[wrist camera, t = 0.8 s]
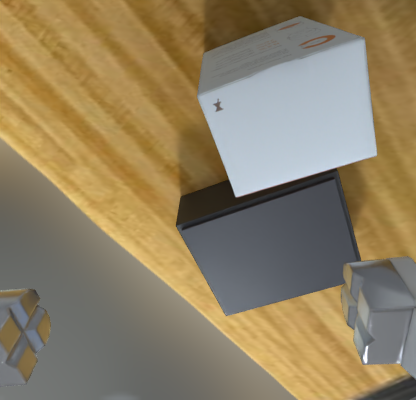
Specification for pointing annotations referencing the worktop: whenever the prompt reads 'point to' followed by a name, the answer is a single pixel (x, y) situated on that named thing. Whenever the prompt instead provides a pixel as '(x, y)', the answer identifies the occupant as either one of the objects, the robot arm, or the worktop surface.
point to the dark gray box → (269, 240)
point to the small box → (288, 103)
